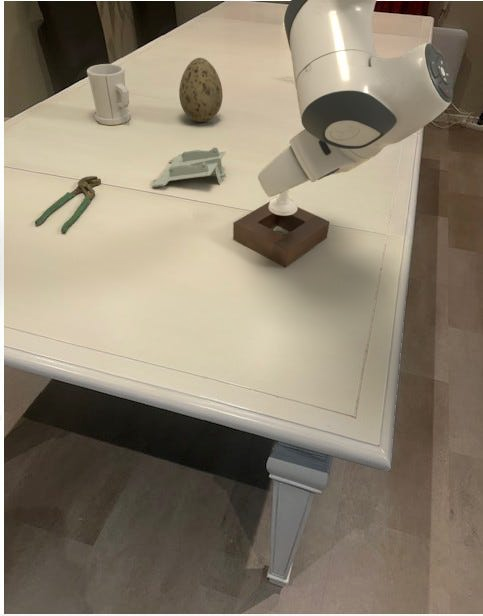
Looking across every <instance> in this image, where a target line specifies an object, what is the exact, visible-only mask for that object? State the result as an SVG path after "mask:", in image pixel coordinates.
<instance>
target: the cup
mask: <svg viewBox="0 0 483 616" xmlns="http://www.w3.org/2000/svg"><path fill="white" fill-rule="evenodd" d="M86 69H87V70H86V75H87V77H88V81H89V86H90V89H91V93H92V98H93V102H94V107H95V113H94V117H95V120H96V122H97V123H99V124H101V125H104V126H118V125H122V124H125V123H127V122H128V121H129V120H130V119H131V112H130V110H129V108H128V106H129V105H130V92H129V89H128V87H127V86H126V77H125V76H126V75H125V68H124V66H123V65H119V64H113V63H103V64H102V63H101V64H96V65H92V66H89V67H88V68H86Z"/></svg>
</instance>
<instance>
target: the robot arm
mask: <svg viewBox="0 0 483 616" xmlns="http://www.w3.org/2000/svg"><path fill="white" fill-rule="evenodd" d="M376 4H377V0H290V1H289V3H288V5H287V7H286V9H285V13H284V17H283V26H284V31H285V34H286V40H287V43H288V48H289V51H290V56H291V64H292V71H293V78H294V86H295V90H296V95H297V96H296V97H297V105H298V110H299V115H300V119H301V120H300V122H301V124H302V126H303V128H304V129H303V130H301V131H300V132H299V133H297V134H296V135H294V136H293V137H292V138H291V139H290V140H289V144H290V145H289V146H287V148H285V149H283V151H282V152H281V153H279V154H278V155H277V156H276V157H274V159H272V160H271V161H270V162H269V163H268V164H266V166H265V167H264V168H262V169H261V171H260V172H259V173H258V175H257V181H258V182H259V184H260V186H261V188H262V189H263V191H264V193H265V194H266V196H267V197H274V196H277V195H278V196H279V195H280V193H282V192H284V191H287V190H288V191H289V190H291V189H293V188H295V187H297V186H298V187H299V186H300V185H302V184H304V183H306V182H309V181H310V182H311V183H315V182H316V181H320V180H322V179H324V178H326V177H328V176H332V175H336V174H340V173H348V172H351V170H354V169H355V168H357V167H359V166H360V165H362V164H364V163H365V162H366V163H367V161H370V160H371V159H372V158H374V157H376V156H377V155H378V154H379V153H381V152H382V150H383V149H384V148H385V147H387V146H390V145H394V144H397V143H400V142H402V141H404V140H405V139H406V138H407V139H408V138H409V137H410V136H412V135H413V134H415V133H416V132H418V131H419V130H421V129H422V128H424V127H425V126H427V125H428V124H430V123H431V122H432V121H434V120H435V119H436V118H438V117H439V116H440V115H441V114H442V113H443V112H445V110H446V109H448V107H449V106H450V105H451V103H452V101H453V98H454V97H453V96H454V86H453V79H452V73H451V70H450V66H449V65H448V62H447V61H446V57H445V56H444V55H443V53H442V52H441V50H440V49H439V48H438V47H436V46H435V45H434V43H431V42H425V43H422V44H420V45H418V46H416V47H414V48H412V49H410V50H408V51H406V52H405V53H403V54H401V55H400V56H397V57H379V56H377V50H376V43H375V38H374V29H373V20H374V19H373V18H374V10H375V6H376Z"/></svg>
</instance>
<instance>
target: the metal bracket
mask: <svg viewBox="0 0 483 616" xmlns="http://www.w3.org/2000/svg"><path fill="white" fill-rule="evenodd" d="M226 154H227V152H226V151H219V149H218V148H217V147H216V146H214V147H212V148H211V149H210V150H201V149H195V150H188V151H183V152H182V153H179V154H178V155H176V156H175V157H173V158H171V159H170V160H169V161H168V163H169V165H168V166H167V167H166V168H165V170H164V171H163V172H162V174H161V175H160V176H159V177H158V178H155V179H152V181H151V187H152V188H156V187H157V188H158V187H164V186H166V185H167V184H168V183H169V182H171V181H172V182H173V181H180V180H187V179H188V180H189V179H194V178H195V179H196V178H203V177H209V176H211V175H212V174H213V172H215V176H216V179H217V183H218V185H221V184H222V182H223V181H224V179H225V178H227V173H225V172H224V169H223V165H222V159H223V158H224V156H225V155H226Z"/></svg>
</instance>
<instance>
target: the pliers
mask: <svg viewBox="0 0 483 616" xmlns="http://www.w3.org/2000/svg"><path fill="white" fill-rule="evenodd" d="M101 183H102V180H101V178H98V176H97V175H90V176H85V177H82V178H80V179H79V180H78V182H77V187H76V188H74V190H73V191H71V192H69V191H67V192H66V193H65V194H63V196H61V197H60V198H59V199H57V201H56V200H55V202H54V203H53V204H51V205H50V206H49V207H48V208H47V209H46V210H45V211H43V212H42V214H41V216H39V217H38V218H37V219H36V220H35V221H34V224H35V226H40V225H41V224H43V223H44V222H45V221H46V220H47V218H48V217H49V216H50V215H51V214H52V213H53V212H55V211H57V210H58V209H59V208H60V207H62V206H63V205H64V204H65V203H66V202H68V201H69V200H70V199H72V198H73V197H75V196H76V195H78V194H81V193H83V194H84V195H85V196H84V198H83V199H82V201H81V203H80V204H79V206H78V207H77V209H75V211H74V213H73V214H72V215H71V217H70V218H68V220H66V221H65V222H64V223H63V224H62V226H61V228H60V232H61V233H64V234H65V233H66V232H67V230H68V229H69V228H70V227H71V226H72V225H73V224H74V223H75V222H76V221H77V220H78V218H79V217H80V216H81V215H82V213H83V212H84V211H85V209H87V207H88V206H89V204H90V203H91V200H92V199H93V198H94V197H95V195H96V191H95V190H94V188H93V187H95V186H98V185H100V184H101ZM88 191H89V192H88Z"/></svg>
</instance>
